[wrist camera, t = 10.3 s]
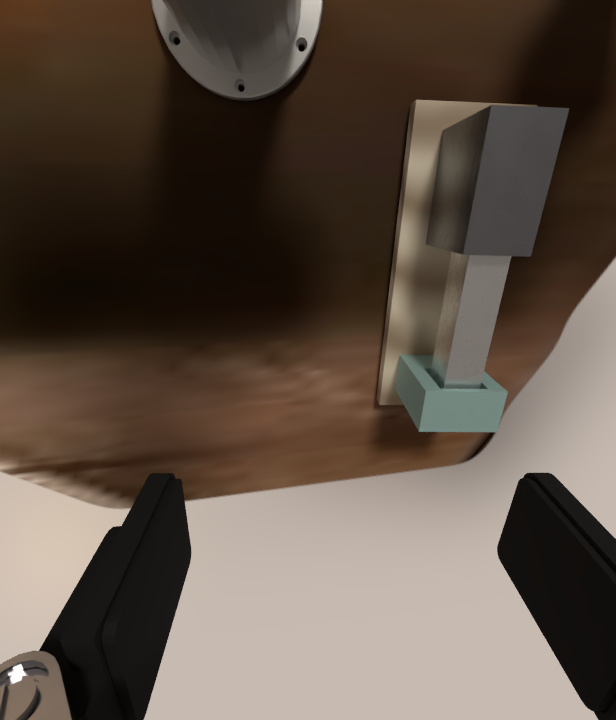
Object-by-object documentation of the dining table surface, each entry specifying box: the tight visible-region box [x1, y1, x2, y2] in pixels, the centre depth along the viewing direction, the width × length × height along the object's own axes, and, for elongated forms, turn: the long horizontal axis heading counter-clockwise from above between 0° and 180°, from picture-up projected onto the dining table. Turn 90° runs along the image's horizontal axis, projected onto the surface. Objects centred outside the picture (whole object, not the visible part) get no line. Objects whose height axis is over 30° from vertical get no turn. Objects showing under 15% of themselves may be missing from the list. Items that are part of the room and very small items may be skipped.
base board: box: [377, 100, 538, 405], centre depth 35 cm, size 28×10×2 cm, turn 178°
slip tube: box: [430, 252, 511, 389], centre depth 30 cm, size 16×3×3 cm, turn 178°
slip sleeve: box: [426, 105, 569, 257], centre depth 28 cm, size 9×5×8 cm, turn 178°
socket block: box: [395, 355, 508, 432], centre depth 35 cm, size 4×7×8 cm, turn 88°
